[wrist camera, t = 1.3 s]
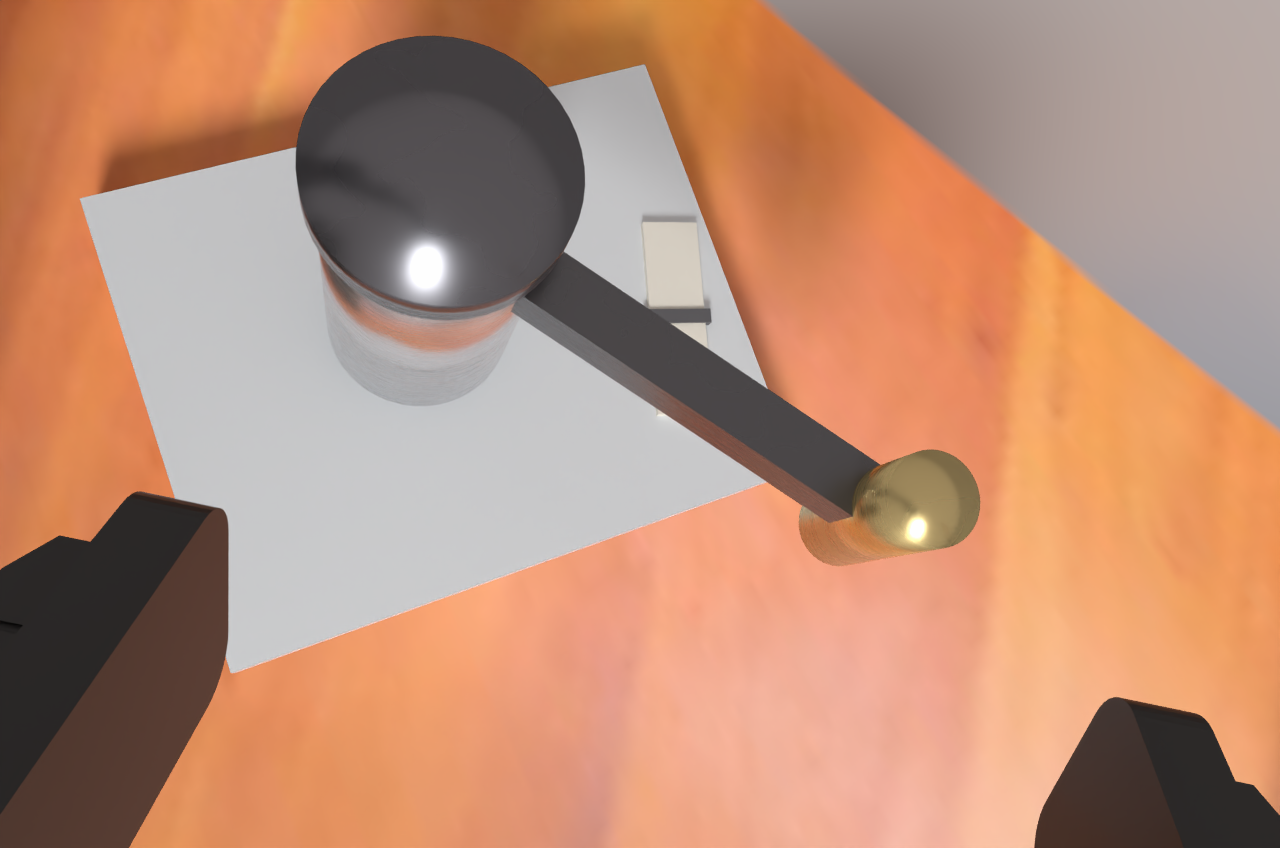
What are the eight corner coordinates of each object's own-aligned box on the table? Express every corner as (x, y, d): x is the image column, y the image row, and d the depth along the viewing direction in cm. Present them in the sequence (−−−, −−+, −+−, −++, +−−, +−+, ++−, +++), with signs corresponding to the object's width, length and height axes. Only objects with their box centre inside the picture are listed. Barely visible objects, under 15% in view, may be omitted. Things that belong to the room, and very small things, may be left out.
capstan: (275, 341, 38) (234, 195, 26) (391, 188, 39) (403, -17, 27) (745, 646, 39) (914, 643, 27) (835, 485, 41) (1031, 414, 29)
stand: (93, 220, 39) (76, 193, 37) (633, 89, 45) (647, 58, 43) (237, 672, 38) (229, 673, 35) (779, 477, 43) (802, 468, 41)
